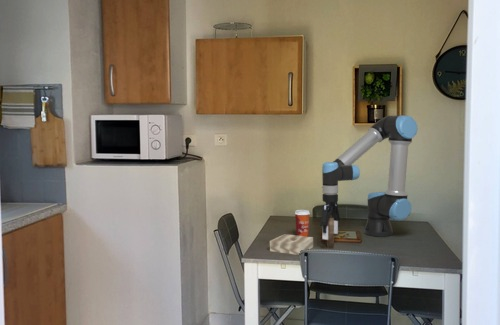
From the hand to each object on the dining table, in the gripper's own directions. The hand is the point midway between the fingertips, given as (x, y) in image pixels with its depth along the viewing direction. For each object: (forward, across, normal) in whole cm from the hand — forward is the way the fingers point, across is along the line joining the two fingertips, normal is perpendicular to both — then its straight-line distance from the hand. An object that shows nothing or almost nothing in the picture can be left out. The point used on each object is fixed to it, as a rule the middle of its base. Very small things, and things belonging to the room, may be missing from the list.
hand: (330, 236), depth 246 cm
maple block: (+6, +11, -16) cm, 20 cm away
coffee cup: (+6, -11, -20) cm, 24 cm away
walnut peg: (+6, 0, 0) cm, 6 cm away
